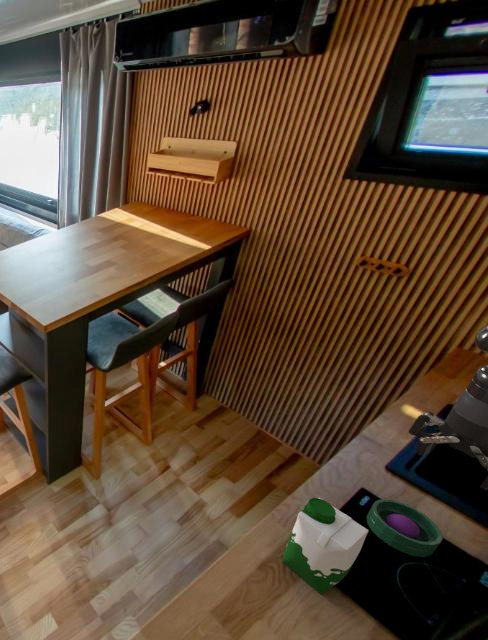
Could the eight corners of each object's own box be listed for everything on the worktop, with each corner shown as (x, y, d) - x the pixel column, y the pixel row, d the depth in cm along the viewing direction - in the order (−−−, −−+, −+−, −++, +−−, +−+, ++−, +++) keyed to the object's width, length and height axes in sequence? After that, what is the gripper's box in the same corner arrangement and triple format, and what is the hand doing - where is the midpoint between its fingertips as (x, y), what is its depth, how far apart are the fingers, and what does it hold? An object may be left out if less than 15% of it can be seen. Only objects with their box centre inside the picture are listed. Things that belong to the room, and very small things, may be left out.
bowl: (381, 506, 89) (389, 492, 87) (443, 547, 80) (454, 533, 78) (354, 523, 87) (361, 509, 85) (415, 567, 78) (425, 553, 76)
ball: (391, 518, 86) (397, 505, 84) (421, 538, 82) (429, 525, 79) (376, 527, 85) (382, 515, 83) (407, 548, 81) (414, 536, 78)
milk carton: (297, 540, 86) (320, 487, 77) (348, 580, 78) (379, 525, 70) (274, 559, 83) (295, 507, 75) (324, 602, 75) (354, 549, 67)
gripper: (565, 434, 63) (520, 491, 70) (442, 385, 76) (414, 438, 83) (541, 450, 62) (497, 507, 68) (420, 397, 74) (393, 450, 81)
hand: (452, 469), depth 76 cm, fingers open, 8 cm apart
